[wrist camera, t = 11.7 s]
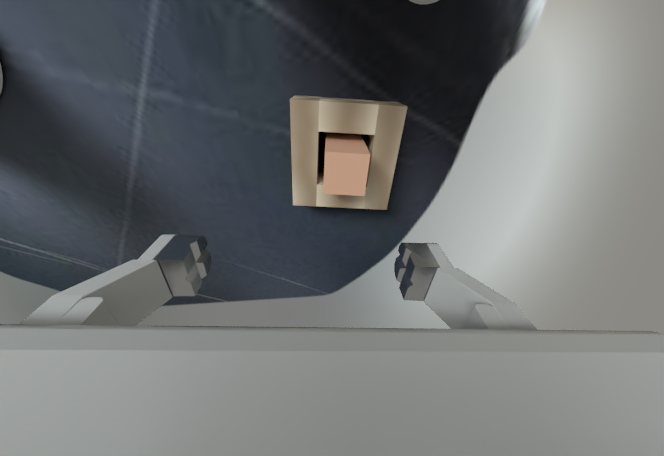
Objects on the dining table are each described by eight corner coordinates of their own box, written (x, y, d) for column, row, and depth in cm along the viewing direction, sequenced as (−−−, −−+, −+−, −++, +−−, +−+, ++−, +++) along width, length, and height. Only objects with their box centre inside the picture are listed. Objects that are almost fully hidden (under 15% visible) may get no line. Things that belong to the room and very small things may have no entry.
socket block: (296, 190, 32) (292, 205, 29) (295, 95, 26) (289, 98, 23) (380, 195, 32) (386, 209, 29) (397, 102, 26) (407, 106, 23)
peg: (324, 166, 30) (323, 193, 23) (326, 132, 28) (324, 151, 21) (356, 168, 30) (364, 196, 24) (361, 134, 28) (370, 154, 21)
